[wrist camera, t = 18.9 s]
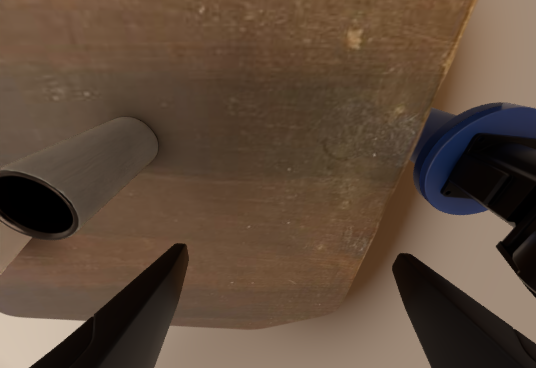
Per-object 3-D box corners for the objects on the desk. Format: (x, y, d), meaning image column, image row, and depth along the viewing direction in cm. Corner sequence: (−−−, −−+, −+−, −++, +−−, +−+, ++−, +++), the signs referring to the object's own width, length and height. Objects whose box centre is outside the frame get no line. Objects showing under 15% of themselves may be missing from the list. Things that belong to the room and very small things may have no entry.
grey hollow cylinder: (103, 149, 21) (-21, 222, 12) (112, 105, 19) (-28, 153, 10) (151, 170, 22) (73, 251, 13) (165, 132, 20) (83, 196, 11)
